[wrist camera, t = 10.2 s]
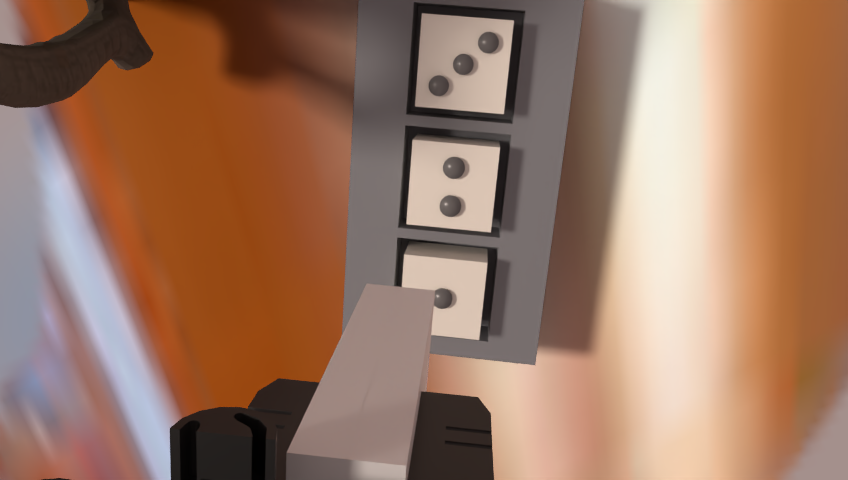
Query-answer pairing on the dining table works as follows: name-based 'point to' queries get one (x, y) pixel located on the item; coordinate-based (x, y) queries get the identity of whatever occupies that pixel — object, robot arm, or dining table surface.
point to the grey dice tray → (515, 130)
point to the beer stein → (71, 56)
